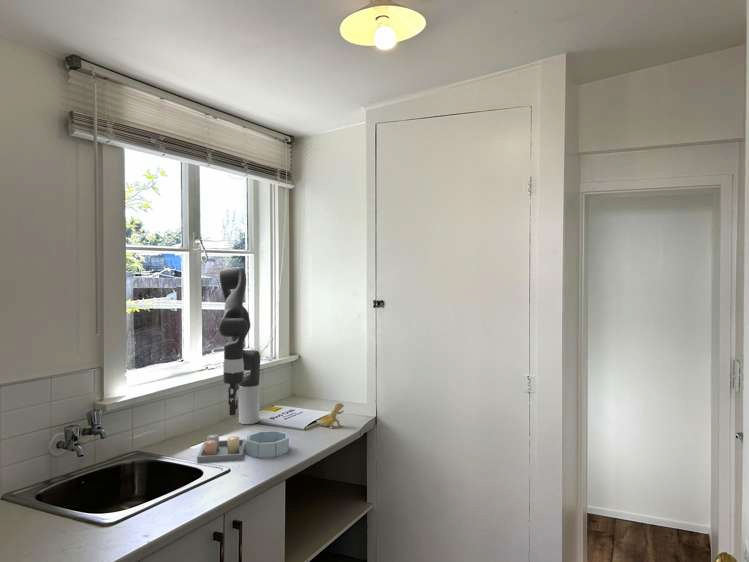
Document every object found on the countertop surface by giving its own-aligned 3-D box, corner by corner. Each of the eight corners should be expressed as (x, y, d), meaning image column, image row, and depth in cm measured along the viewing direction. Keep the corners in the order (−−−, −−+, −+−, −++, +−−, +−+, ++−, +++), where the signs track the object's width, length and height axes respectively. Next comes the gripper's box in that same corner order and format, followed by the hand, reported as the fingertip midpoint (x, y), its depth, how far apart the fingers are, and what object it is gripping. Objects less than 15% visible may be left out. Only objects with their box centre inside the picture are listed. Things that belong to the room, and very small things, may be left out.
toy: (345, 424, 232) (339, 401, 235) (315, 433, 236) (310, 411, 239) (351, 423, 238) (345, 401, 241) (321, 432, 242) (316, 411, 245)
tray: (204, 446, 211) (204, 441, 211) (245, 444, 213) (245, 439, 213) (197, 462, 193) (197, 456, 193) (242, 460, 196) (242, 454, 195)
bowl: (248, 445, 212) (248, 431, 212) (288, 443, 215) (288, 429, 215) (245, 459, 197) (245, 444, 197) (288, 456, 199) (288, 442, 199)
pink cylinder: (208, 448, 208) (208, 434, 208) (219, 448, 208) (219, 434, 208) (206, 452, 203) (206, 438, 203) (218, 451, 204) (218, 437, 204)
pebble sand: (228, 450, 206) (228, 436, 205) (239, 450, 206) (239, 436, 206) (226, 454, 201) (226, 440, 201) (238, 453, 202) (238, 439, 202)
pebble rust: (205, 454, 201) (205, 440, 201) (217, 454, 201) (217, 439, 201) (203, 458, 196) (203, 444, 196) (215, 458, 197) (215, 443, 197)
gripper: (225, 367, 210) (225, 407, 210) (221, 373, 196) (221, 417, 196) (245, 366, 211) (245, 407, 211) (242, 373, 197) (242, 416, 197)
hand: (233, 412), depth 203 cm, fingers open, 8 cm apart
